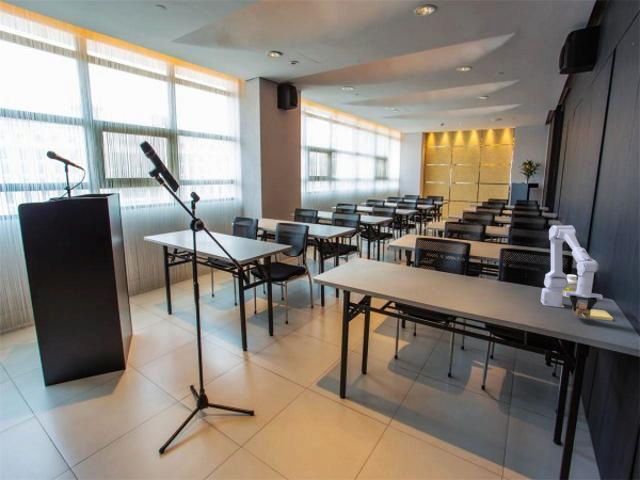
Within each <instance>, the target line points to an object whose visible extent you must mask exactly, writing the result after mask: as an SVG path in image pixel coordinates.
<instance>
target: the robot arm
mask: <svg viewBox="0 0 640 480" xmlns="http://www.w3.org/2000/svg"><path fill="white" fill-rule="evenodd" d="M576 232H577V231H576V229H575V227H574V226H573V225H572V224H571V225H570V224H569V225H555V224H554V225H551V226H550V228H549V230H548V240H549V241H550V271H548V272H547V273H545V277H544V281H543V284H544V286H545V287H543V288H542V289H541V296H540V302H541V303H542V305H543V306H545V307H555V308H565V306H564V304H562V303H563V297H565V296H569V297H570V298H569V299H570V302H571V307H573V311H576V305H577V302H579V299H578V298H587V303H586V305H587V308H588V309H589V310H590V311H591V309H593V307H594V306H595V305H596V304H597V303H598V300H603V298H604V297H603V296H604V295H602V294H600V293H599V294H598V293H593V292H592V290H593V284H594V276H595V273H597V272H598V270H599V264H598V261H597V260H595V259H593V258H591V256H590V255H589V253H588V251H587V250H586V249H585V248H584V247H581V245H580V243H579V241H578V239H577V237H576ZM564 242H566V243H567V244H568V246H569V248H570V249H571V250H572V251H571V255H572V257H573V258H574V260H575V263H577V264H576V270H577V272H576V273H577V280H578V283H577V290H576V291H565V296H563V290H565V289H566V288H567V287H568V284H569V283H568V279H567V275H568V274H566V273H564V272H563V243H564ZM573 311H572V312H573Z"/></svg>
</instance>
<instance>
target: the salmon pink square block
mask: <svg viewBox="0 0 640 480" xmlns="http://www.w3.org/2000/svg"><path fill="white" fill-rule="evenodd" d="M577 307H578V308H579V309H586V308H587V303H586V302H580V301H577Z"/></svg>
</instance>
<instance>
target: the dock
mask: <svg viewBox="0 0 640 480" xmlns="http://www.w3.org/2000/svg"><path fill="white" fill-rule="evenodd" d="M581 316H583V317H584V318H585V319H587V318H586V317H585V316H584V315H583V314H582V315H581ZM589 319H593V320H604V321H610V322H612V321H613V320H614V317H612V316H611V315H610V313H608V311H606V310H605V309H603V310H602V309H595V308H592V309H591V314H590V318H589Z"/></svg>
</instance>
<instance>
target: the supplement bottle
mask: <svg viewBox="0 0 640 480" xmlns="http://www.w3.org/2000/svg"><path fill="white" fill-rule="evenodd" d="M566 275H567V279H568V283H569V284H568V287H567V288H566V289H565V290H563V297H565V298H568V299H570V297H569V296H565V291H576V290H577V283H578V275H576V274H570V273H569V274H566Z"/></svg>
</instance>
